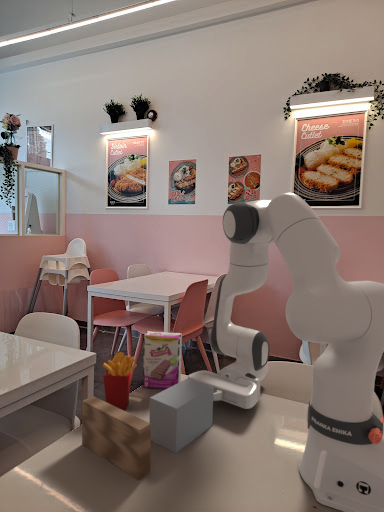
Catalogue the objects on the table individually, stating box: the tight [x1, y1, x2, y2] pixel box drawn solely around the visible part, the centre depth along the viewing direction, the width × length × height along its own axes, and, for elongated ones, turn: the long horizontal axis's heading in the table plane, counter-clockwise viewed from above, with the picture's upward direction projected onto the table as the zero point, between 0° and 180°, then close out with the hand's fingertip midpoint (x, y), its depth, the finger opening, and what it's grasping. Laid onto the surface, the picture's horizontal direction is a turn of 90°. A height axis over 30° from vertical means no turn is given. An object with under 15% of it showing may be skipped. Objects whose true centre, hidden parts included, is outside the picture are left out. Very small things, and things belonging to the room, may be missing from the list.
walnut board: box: [81, 395, 152, 481], centre depth 76 cm, size 18×3×10 cm, turn 53°
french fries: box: [102, 351, 138, 411], centre depth 98 cm, size 9×8×15 cm
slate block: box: [148, 377, 214, 454], centre depth 86 cm, size 8×14×10 cm, turn 143°
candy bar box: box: [142, 330, 183, 390], centre depth 110 cm, size 11×5×16 cm, turn 84°
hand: (204, 398), depth 93 cm, fingers closed
